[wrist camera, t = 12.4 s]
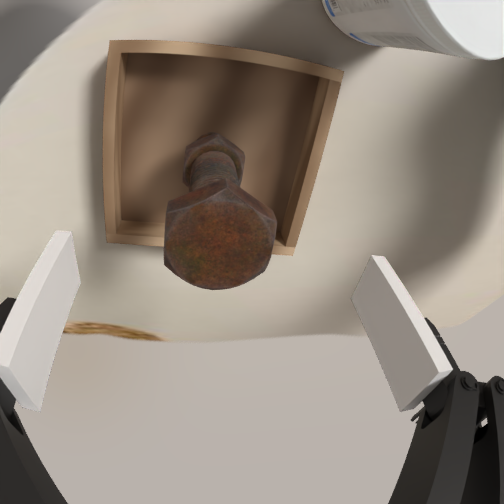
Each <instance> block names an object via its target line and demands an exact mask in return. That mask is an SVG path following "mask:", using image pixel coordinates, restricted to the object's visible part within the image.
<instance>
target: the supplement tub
mask: <svg viewBox="0 0 504 504" xmlns="http://www.w3.org/2000/svg"><path fill="white" fill-rule="evenodd" d="M322 3H323V6H324V9H325V11H326V13H327V15H328V16H329V18H330V19H331V21H332V22H333V23H334V24H335V25H336V26H337V27H338V28H339V29H340V30H341V31H342V32H343V33H345V34H346V35H348V36H349V37H351V38H353V39H355V40H357V41H359V42H362V43H364V44H368V45H373V46H383V47H395V48H405V49H413V50H421V51H428V52H435V53H441V54H446V55H452V56H458V57H463V58H469V59H483V60H497V59H501V58H503V57H504V0H322Z"/></svg>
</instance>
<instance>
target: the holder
mask: <svg viewBox="0 0 504 504" xmlns="http://www.w3.org/2000/svg"><path fill="white" fill-rule="evenodd" d="M343 74H344V71H341V70H338V69H335V68H331V67H327V66H324V65H320V64H316V63H312V62H308V61H304V60H300V59H296V58H291V57H287V56H282V55H277V54H272V53H267V52H261V51H256V50H250V49H243V48H237V47H229V46H222V45H213V44H204V43H193V42H179V41H159V40H110V43H109V51H108V60H107V70H106V81H105V95H104V113H103V195H104V214H105V228H106V240H107V243H120V244H134V245H148V246H162V247H164V232H165V218H166V210H167V205H168V201H170V200H172V199H175V198H177V197H179V196H182V195H184V194H186V193H189V188H188V187H187V186H186V185H185V184H184V183H182V178H183V167H184V157H185V150H186V146H187V145H189V144H191V143H193V142H195V141H196V140H197V139H198V138H199V137H200V136H201V135H205V134H207V135H208V133H209V132H215V133H218V134H220V135H222V136H223V137H225V138H226V139H228V140H229V141H231V142H232V143H233V144H235V145H236V146H237V147H239V148H240V149H241V150H242V151H243V152H244V154H245V164H244V171H243V176H242V181H241V185H240V188H242V189H243V190H245V191H246V192H247V193H249V194H250V195H252V196H253V197H255V198H256V199H257V200H259V201H260V202H262V203H263V204H264V205H266V206H267V207H269V208H270V209H272V210H273V212H274V215H275V218H276V220H277V228H276V236H275V241H274V245H273V250H272V254H276V255H290V256H293V253H294V250H295V247H296V244H297V240H298V237H299V234H300V231H301V227H302V224H303V221H304V217H305V214H306V210H307V207H308V204H309V200H310V197H311V193H312V190H313V186H314V183H315V179H316V176H317V172H318V169H319V165H320V162H321V158H322V154H323V151H324V147H325V143H326V140H327V136H328V132H329V129H330V125H331V121H332V117H333V113H334V110H335V106H336V102H337V98H338V94H339V90H340V86H341V82H342V78H343Z"/></svg>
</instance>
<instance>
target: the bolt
mask: <svg viewBox="0 0 504 504" xmlns="http://www.w3.org/2000/svg"><path fill="white" fill-rule="evenodd" d="M244 164H245V154H244V152H243V151H242V150H241V149H240V148H239V147H237V146H236V145H235V144H233V143H232V142H231V141H229V140H228V139H226V138H225V137H223V136H222V135H220V134H218V133H215V132H209V133H208V135H207V134H205V135H201V136H200V137H199V138H198V139H197V140H196V141H195V142H193V143H191V144H189V145H187V146H186V150H185V157H184V167H183V178H182V183H184V184H185V185H186V186H187V187H188V188H189V193H186V194H184V195H182V196H179V197H177V198H175V199H172V200H170V201H168V205H167V210H166V218H165V232H164V265H165V266H166V267H167V268H168V269H170V270H171V271H172V272H173V273H174V274H175V275H177V276H178V277H180V278H181V279H183V280H184V281H186V282H188V283H190V284H192V285H194V286H197V287H200V288H204V289H210V290H221V289H229V288H233V287H237V286H240V285H242V284H245V283H247V282H248V281H250V280H252V279H254V278H255V277H257V276H258V275H260V274H261V273H263V272H264V271H265V269H266V268H267V266H268V264H269V261H270V258H271V254H272V250H273V245H274V241H275V236H276V228H277V220H276V218H275V215H274V212H273V210H272V209H270V208H269V207H267V206H266V205H264V204H263V203H262V202H260V201H259V200H257V199H256V198H255V197H253V196H252V195H250V194H249V193H247V192H246V191H245V190H243V189H242V188H240V185H241V181H242V176H243V171H244Z"/></svg>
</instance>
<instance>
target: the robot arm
mask: <svg viewBox="0 0 504 504" xmlns="http://www.w3.org/2000/svg"><path fill="white" fill-rule="evenodd" d="M80 283H81V281H80V276H79V271H78V265H77V260H76V254H75V248H74V242H73V235H72V231H58V230H56V231H55V233H54V235H53V236H52V238H51V239H50V241H49V242H48V244H47V246H46V247H45V249H44V251H43V252H42V254H41V256H40V257H39V259H38V261H37V263H36V264H35V266H34V268H33V270H32V271H31V273H30V275H29V277H28V279H27V280H26V282H25V284H24V286H23V288H22V290H21V292H20V294H19V295H18V297H17V299H14V298H7V299H6V300H4V301H3V302H2V303H1V304H0V504H68V503H67V502H66V500H65V499H64V497H63V496H62V494H61V493H60V492H59V490H58V488H57V487H56V485H55V484H54V482H53V480H52V479H51V477H50V476H49V474H48V472H47V470H46V469H45V467H44V465H43V464H42V462H41V460H40V458H39V457H38V455H37V453H36V451H35V449H34V447H33V446H32V443H31V442H30V440H29V438H28V436H27V434H26V432H25V429H24V427H23V425H22V423H21V421H20V419H19V417H18V414H17V412H16V411H15V409H14V405H15V401H16V400H17V402H18V403H19V404H20V405H21V407H22V408H26V409H30V410H34V411H38V412H41V407H42V403H43V399H44V394H45V391H46V387H47V383H48V379H49V376H50V372H51V368H52V365H53V362H54V358H55V355H56V352H57V348H58V345H59V342H60V339H61V336H62V333H63V330H64V327H65V324H66V321H67V318H68V315H69V313H70V310H71V307H72V304H73V302H74V299H75V296H76V294H77V291H78V288H79V286H80ZM351 300H352V302H353V304H354V306H355V309H356V311H357V313H358V315H359V317H360V319H361V321H362V324H363V326H364V328H365V330H366V332H367V335H368V337H369V339H370V341H371V343H372V346H373V348H374V350H375V353H376V355H377V357H378V360H379V362H380V364H381V367H382V369H383V371H384V374H385V376H386V378H387V381H388V383H389V386H390V388H391V390H392V392H393V395H394V398H395V400H396V403H397V405H398V408H399V410H400V412H402V411H406V410H410V409H414V408H415V407H416V406H417V405H418V404H419V403H420V402H421V401H423V403H424V405H425V406H424V407H423V408H422V409H421V410H420V411H419V412H418V413H416V414H415V415H414V416H413V417H412V419H411V421H414V420H415V419H416V418H417V417H418V416H419V419H418V421H417V422H416V423H417V426H416V429H415V432H414V436H413V439H412V442H411V445H410V448H409V451H408V454H407V457H406V460H405V463H404V465H403V468H402V471H401V474H400V476H399V479H398V481H397V484H396V486H395V489H394V491H393V494H392V496H391V498H390V501H389V503H388V504H504V379H503V378H501V377H499V376H494V377H492V378H491V379H490V380H489V381H488V382H487V383H482V382H477V380H476V379H475V377H474V376H473V375H472V374H470V373H469V372H466V371H460V369H459V368H458V366H457V364H456V362H455V360H454V358H453V357H452V355H451V353H450V351H449V350H448V348H447V346H446V345H445V344H444V343H445V342H444V341H443V339H442V337H440V334H439V332H438V331H437V329H436V327H435V326H434V325H433V324H432V323H431V322H430V321H429V320H428V319H427V318H424V317H423V316H422V314H421V312H420V311H419V309H418V307H417V306H416V304H415V303H414V301H413V299H412V298H411V296H410V295H409V293H408V291H407V290H406V288H405V287H404V285H403V284H402V282H401V281H400V279H399V277H398V276H397V274H396V273H395V271H394V270H393V268H392V267H391V265H390V264H389V262H388V261H387V259H386V258H385V257H384V256H374V255H371V257H370V259H369V262H368V264H367V266H366V268H365V270H364V272H363V274H362V277H361V279H360V281H359V283H358V285H357V287H356V289H355V291H354V293H353V295H352V297H351ZM485 418H487V422H488V423H487V424H486V425H485V426H484V427H482V425H481V422H482V421H483V420H484V419H485Z"/></svg>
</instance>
